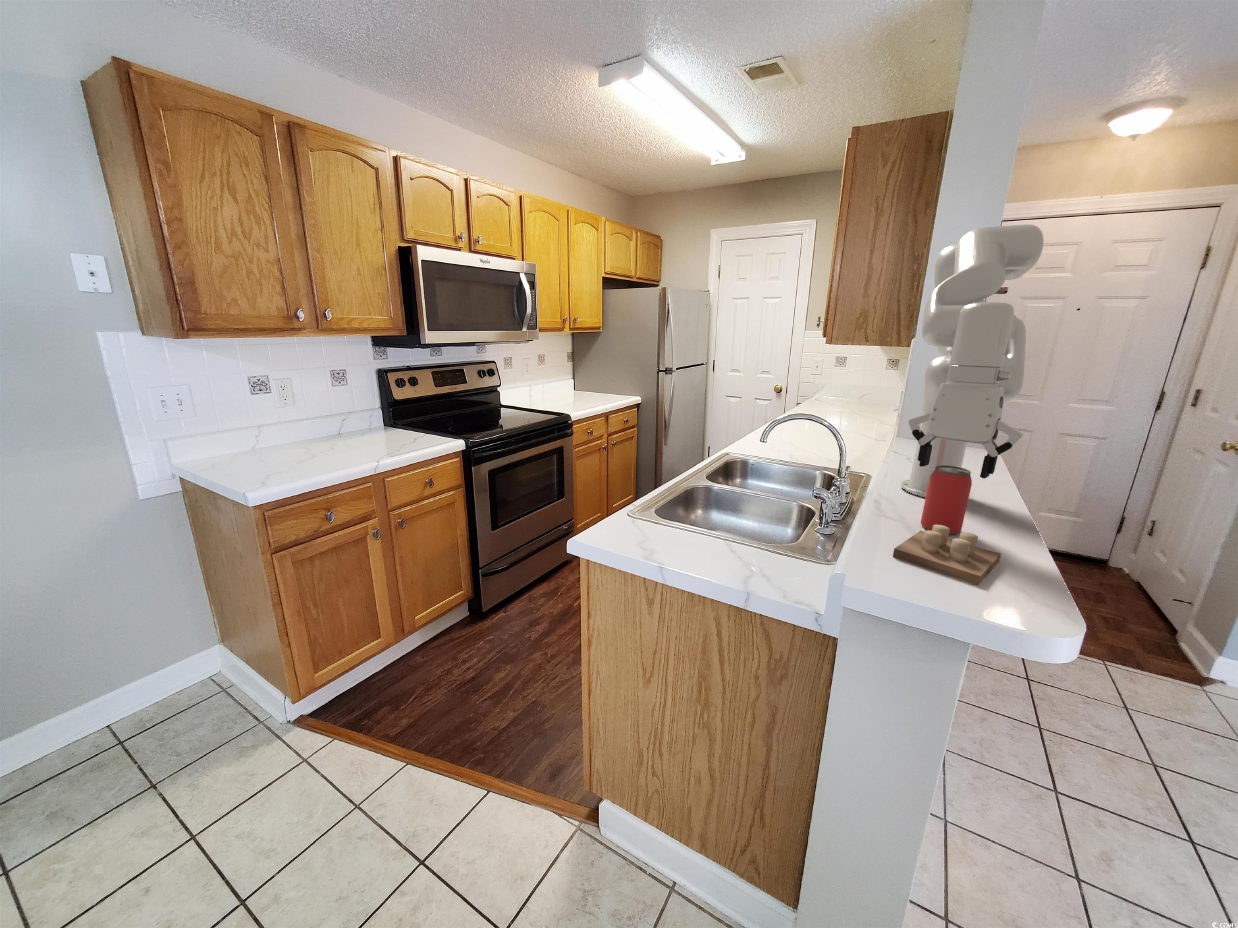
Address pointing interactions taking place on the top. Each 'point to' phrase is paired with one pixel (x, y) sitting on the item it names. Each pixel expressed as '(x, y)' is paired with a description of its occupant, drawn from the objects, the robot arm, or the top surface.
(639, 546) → the top surface
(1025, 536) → the top surface
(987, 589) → the top surface
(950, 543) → the peg stand
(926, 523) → the beer can
